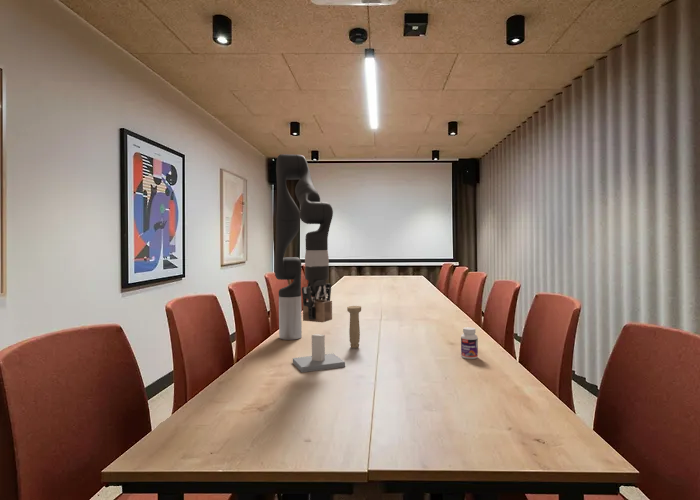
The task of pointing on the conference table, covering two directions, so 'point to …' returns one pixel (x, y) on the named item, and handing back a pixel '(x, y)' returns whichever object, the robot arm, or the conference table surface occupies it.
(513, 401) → the conference table surface
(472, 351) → the pill bottle
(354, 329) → the handle
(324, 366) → the base
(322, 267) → the robot arm
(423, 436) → the conference table surface
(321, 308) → the open cubby box
